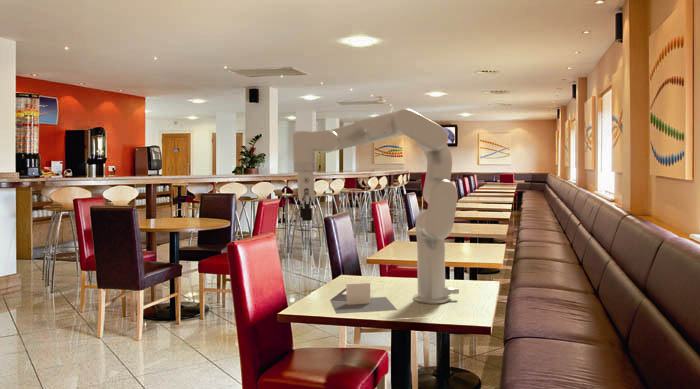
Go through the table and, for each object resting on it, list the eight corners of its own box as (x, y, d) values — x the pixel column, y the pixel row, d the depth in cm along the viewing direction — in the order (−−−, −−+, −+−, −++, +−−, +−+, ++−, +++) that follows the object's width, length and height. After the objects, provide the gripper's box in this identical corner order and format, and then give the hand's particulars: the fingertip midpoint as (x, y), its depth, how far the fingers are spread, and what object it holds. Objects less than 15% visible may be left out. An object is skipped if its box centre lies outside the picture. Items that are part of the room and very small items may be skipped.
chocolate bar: (330, 299, 196) (345, 288, 214) (330, 302, 196) (345, 290, 214) (355, 301, 194) (368, 289, 211) (355, 303, 194) (368, 292, 211)
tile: (369, 302, 193) (369, 281, 192) (370, 303, 191) (370, 283, 190) (346, 303, 191) (346, 283, 191) (347, 304, 190) (346, 284, 189)
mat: (385, 297, 200) (385, 296, 199) (397, 311, 182) (397, 309, 182) (329, 301, 197) (329, 299, 197) (336, 314, 179) (336, 313, 179)
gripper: (318, 168, 179) (319, 221, 180) (313, 167, 196) (314, 216, 197) (295, 168, 178) (296, 222, 179) (292, 168, 195) (293, 217, 196)
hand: (306, 219), depth 188 cm, fingers open, 9 cm apart
